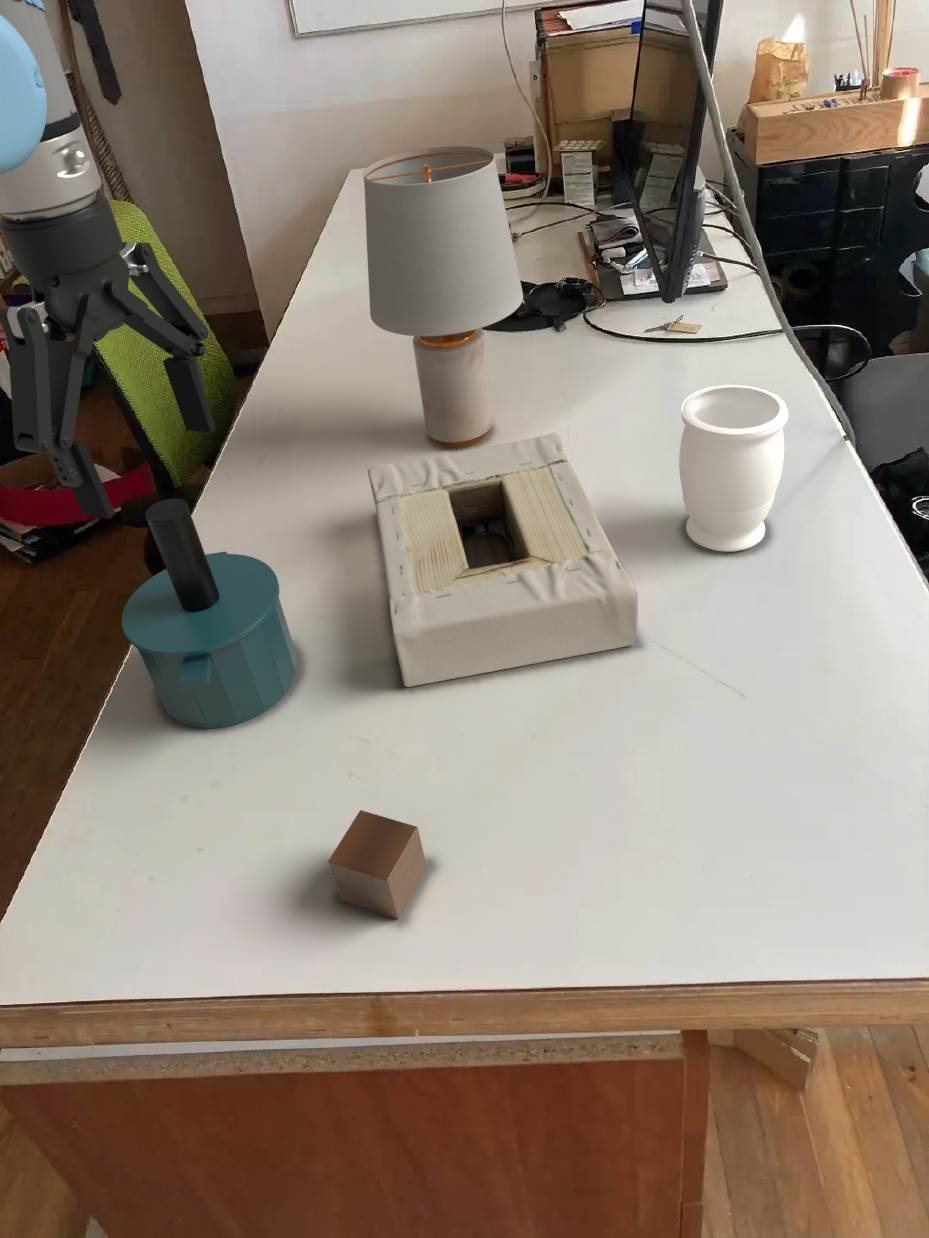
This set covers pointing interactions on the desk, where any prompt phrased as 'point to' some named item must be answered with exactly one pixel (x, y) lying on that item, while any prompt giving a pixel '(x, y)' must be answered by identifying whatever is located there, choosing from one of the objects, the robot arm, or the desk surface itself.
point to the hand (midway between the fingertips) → (153, 469)
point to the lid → (195, 592)
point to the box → (496, 562)
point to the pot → (228, 676)
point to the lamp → (442, 276)
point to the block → (378, 863)
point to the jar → (731, 463)
